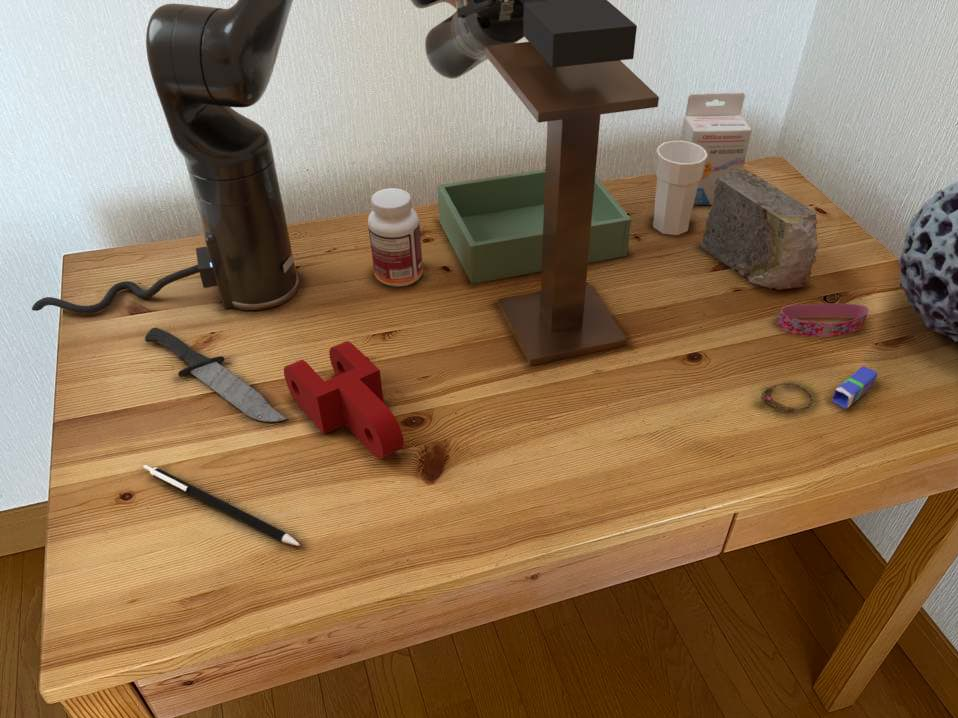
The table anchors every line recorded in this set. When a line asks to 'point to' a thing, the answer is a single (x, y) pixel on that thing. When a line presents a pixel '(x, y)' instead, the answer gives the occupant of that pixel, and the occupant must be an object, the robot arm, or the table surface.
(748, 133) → the ink box
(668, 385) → the table surface
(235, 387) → the knife
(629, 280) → the table surface
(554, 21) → the bar
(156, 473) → the pen
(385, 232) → the pill bottle
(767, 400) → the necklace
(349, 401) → the mechanical linkage
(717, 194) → the geological specimen
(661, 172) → the cup
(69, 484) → the table surface
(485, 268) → the bin
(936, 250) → the decorative object
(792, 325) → the headband
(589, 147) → the shelf stand
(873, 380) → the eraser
